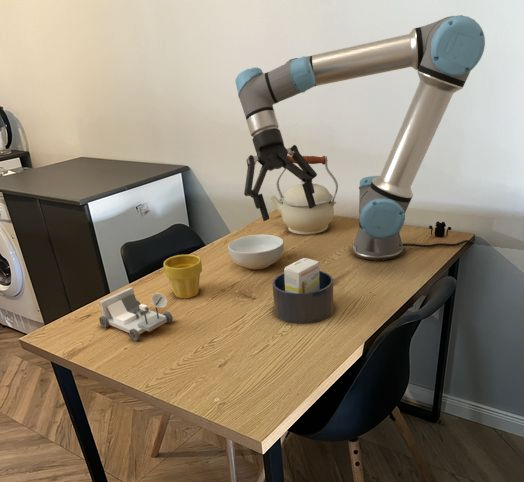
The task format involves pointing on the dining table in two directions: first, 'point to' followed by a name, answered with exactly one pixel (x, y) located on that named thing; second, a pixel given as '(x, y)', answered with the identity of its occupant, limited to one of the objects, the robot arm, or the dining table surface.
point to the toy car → (133, 313)
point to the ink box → (302, 276)
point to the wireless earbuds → (440, 229)
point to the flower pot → (184, 274)
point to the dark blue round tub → (303, 301)
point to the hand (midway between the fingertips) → (290, 213)
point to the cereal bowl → (256, 250)
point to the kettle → (306, 204)
